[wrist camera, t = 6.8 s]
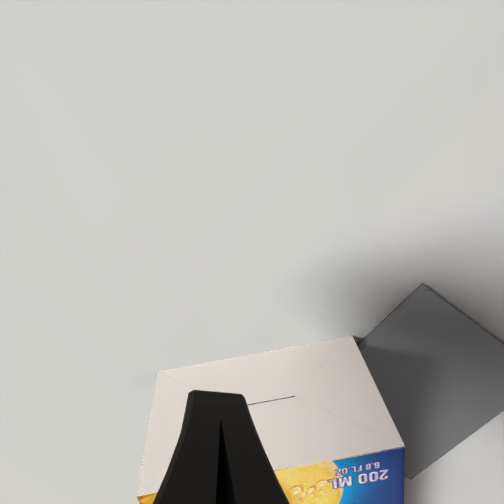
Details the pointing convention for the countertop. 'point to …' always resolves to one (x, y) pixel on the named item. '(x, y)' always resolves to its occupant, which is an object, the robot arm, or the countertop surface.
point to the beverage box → (293, 422)
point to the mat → (434, 375)
